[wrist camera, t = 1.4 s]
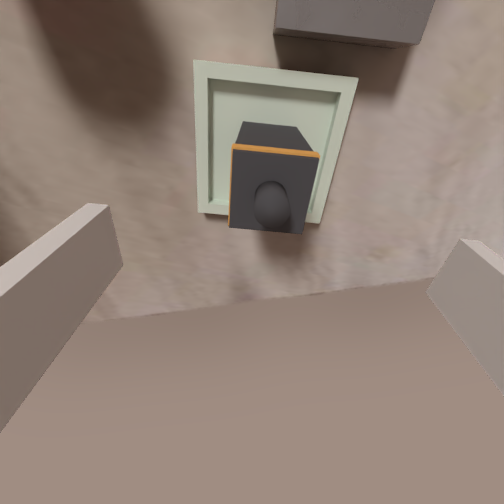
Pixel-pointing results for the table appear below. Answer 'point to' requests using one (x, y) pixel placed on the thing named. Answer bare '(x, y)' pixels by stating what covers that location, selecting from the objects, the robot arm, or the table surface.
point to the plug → (271, 178)
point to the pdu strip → (354, 21)
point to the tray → (265, 121)
